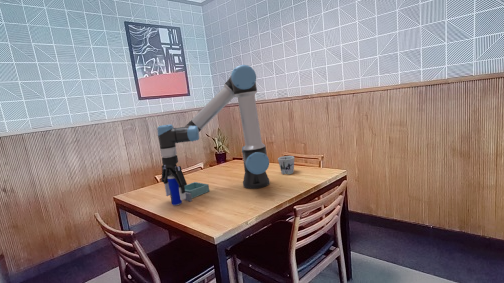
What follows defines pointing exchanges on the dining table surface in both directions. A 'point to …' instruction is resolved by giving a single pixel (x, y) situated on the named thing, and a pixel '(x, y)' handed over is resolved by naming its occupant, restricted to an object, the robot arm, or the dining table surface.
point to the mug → (286, 164)
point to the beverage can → (174, 191)
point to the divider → (188, 197)
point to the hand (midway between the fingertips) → (175, 197)
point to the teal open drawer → (196, 188)
